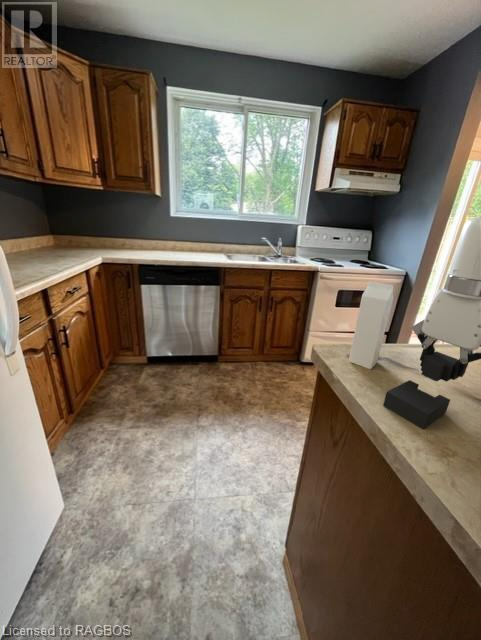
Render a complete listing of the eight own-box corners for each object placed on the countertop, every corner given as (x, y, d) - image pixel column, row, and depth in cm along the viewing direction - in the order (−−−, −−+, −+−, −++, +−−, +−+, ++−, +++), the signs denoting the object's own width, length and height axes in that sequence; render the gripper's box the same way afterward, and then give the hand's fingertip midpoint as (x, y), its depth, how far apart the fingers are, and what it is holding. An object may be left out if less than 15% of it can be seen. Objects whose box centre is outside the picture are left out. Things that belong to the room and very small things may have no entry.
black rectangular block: (431, 365, 61) (436, 351, 59) (457, 375, 57) (462, 361, 56) (415, 372, 57) (420, 357, 56) (442, 384, 53) (448, 368, 52)
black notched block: (405, 393, 61) (409, 379, 60) (445, 413, 55) (450, 399, 54) (382, 405, 57) (386, 391, 56) (423, 429, 50) (428, 414, 49)
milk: (370, 369, 71) (391, 287, 63) (347, 361, 74) (364, 282, 67) (377, 361, 75) (397, 283, 67) (355, 354, 79) (371, 279, 71)
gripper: (537, 296, 46) (496, 387, 53) (429, 277, 60) (407, 351, 66) (524, 301, 42) (482, 398, 49) (412, 279, 56) (390, 357, 62)
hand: (439, 370), depth 57 cm, fingers closed on black rectangular block, 5 cm apart
